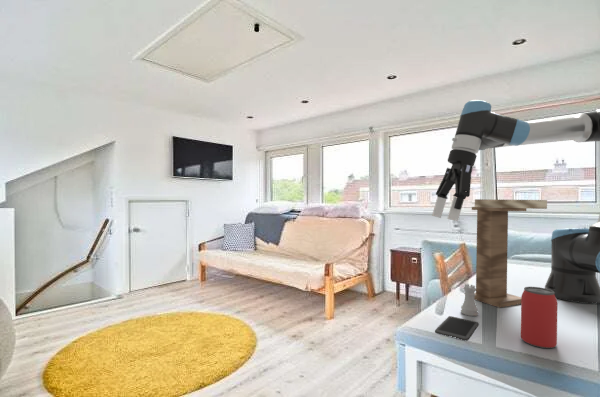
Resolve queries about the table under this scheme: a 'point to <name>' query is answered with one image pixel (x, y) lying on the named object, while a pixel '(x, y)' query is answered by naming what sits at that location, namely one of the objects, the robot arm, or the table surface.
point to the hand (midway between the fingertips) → (443, 218)
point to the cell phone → (457, 328)
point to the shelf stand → (493, 256)
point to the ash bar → (511, 203)
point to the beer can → (539, 317)
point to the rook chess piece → (469, 301)
